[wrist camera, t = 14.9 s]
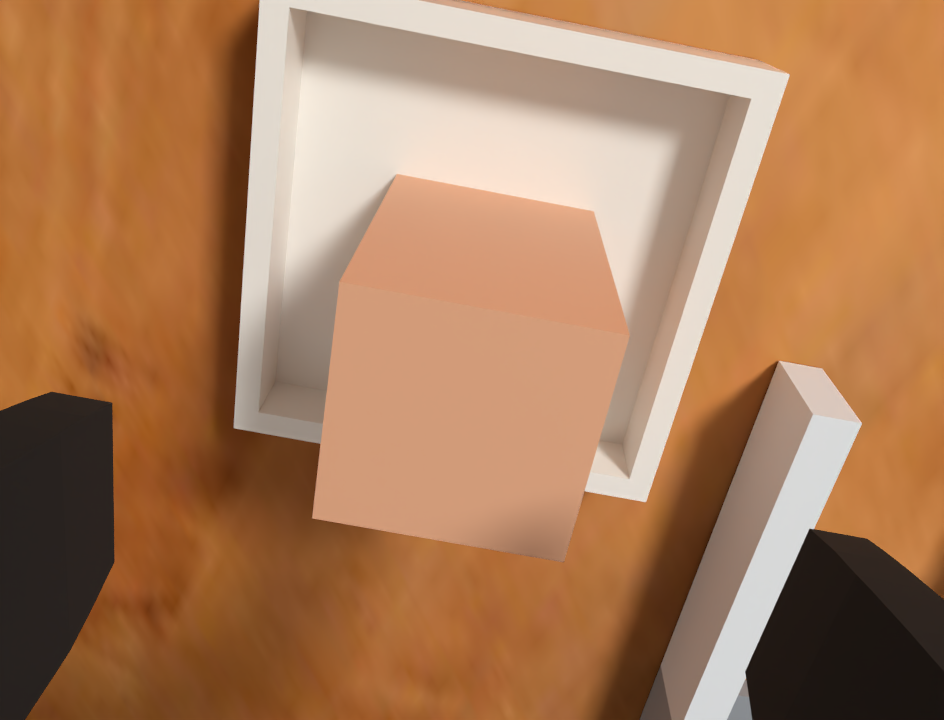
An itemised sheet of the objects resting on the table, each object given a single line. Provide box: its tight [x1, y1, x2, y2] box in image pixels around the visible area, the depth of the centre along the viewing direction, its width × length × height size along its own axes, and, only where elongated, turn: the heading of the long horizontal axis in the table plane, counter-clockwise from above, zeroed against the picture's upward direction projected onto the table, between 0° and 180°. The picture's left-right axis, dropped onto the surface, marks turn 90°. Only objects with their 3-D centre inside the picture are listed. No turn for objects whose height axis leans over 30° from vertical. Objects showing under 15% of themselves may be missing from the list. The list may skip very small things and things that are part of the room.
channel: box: [661, 361, 862, 720], centre depth 20 cm, size 10×8×2 cm
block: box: [312, 174, 630, 562], centre depth 15 cm, size 4×4×6 cm
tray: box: [234, 0, 790, 502], centre depth 17 cm, size 9×9×2 cm
